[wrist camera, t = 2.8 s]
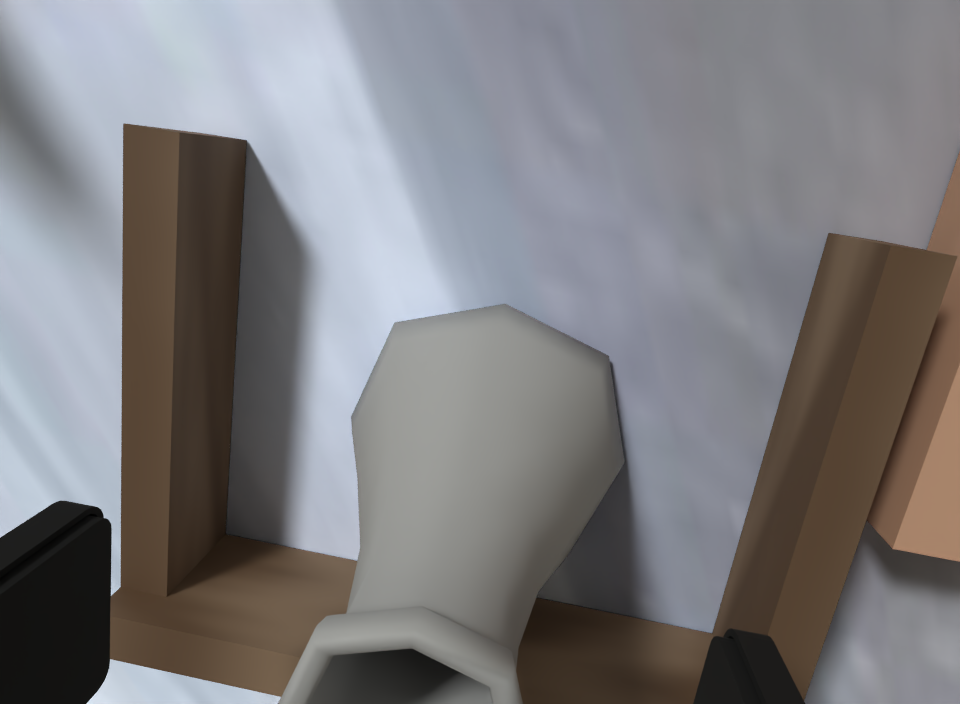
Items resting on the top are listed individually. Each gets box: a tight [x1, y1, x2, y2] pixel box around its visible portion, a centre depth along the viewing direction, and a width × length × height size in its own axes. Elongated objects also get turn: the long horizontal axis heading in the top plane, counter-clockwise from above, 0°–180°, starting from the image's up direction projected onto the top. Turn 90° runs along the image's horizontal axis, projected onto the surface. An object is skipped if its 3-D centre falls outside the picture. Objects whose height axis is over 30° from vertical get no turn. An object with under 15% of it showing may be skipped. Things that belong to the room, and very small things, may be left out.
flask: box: [278, 304, 625, 704], centre depth 13 cm, size 7×7×10 cm
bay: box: [110, 124, 958, 704], centre depth 16 cm, size 16×12×4 cm
